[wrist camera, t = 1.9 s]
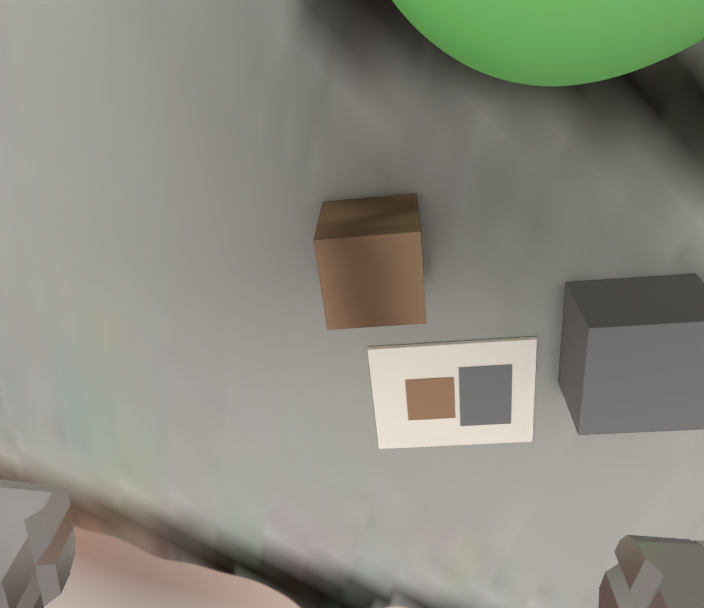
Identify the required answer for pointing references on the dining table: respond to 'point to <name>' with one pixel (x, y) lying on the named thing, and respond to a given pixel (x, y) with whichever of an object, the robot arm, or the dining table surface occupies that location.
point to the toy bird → (557, 35)
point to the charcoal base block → (634, 354)
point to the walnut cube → (371, 262)
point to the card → (454, 392)
